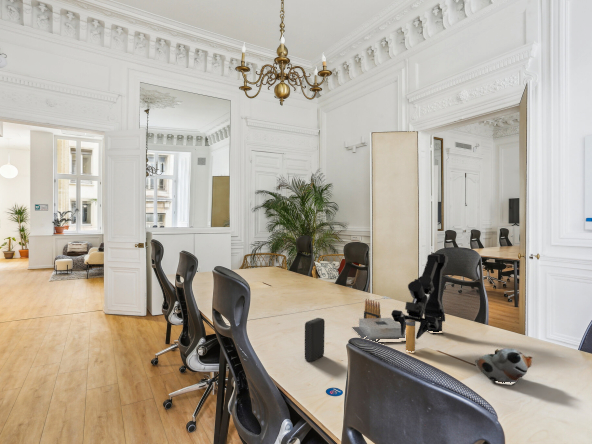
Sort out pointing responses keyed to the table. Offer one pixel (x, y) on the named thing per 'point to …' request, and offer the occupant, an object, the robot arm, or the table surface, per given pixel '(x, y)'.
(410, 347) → the pin
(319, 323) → the card reader
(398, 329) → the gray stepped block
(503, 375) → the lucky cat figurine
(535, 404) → the table surface
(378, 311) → the ammunition clip
